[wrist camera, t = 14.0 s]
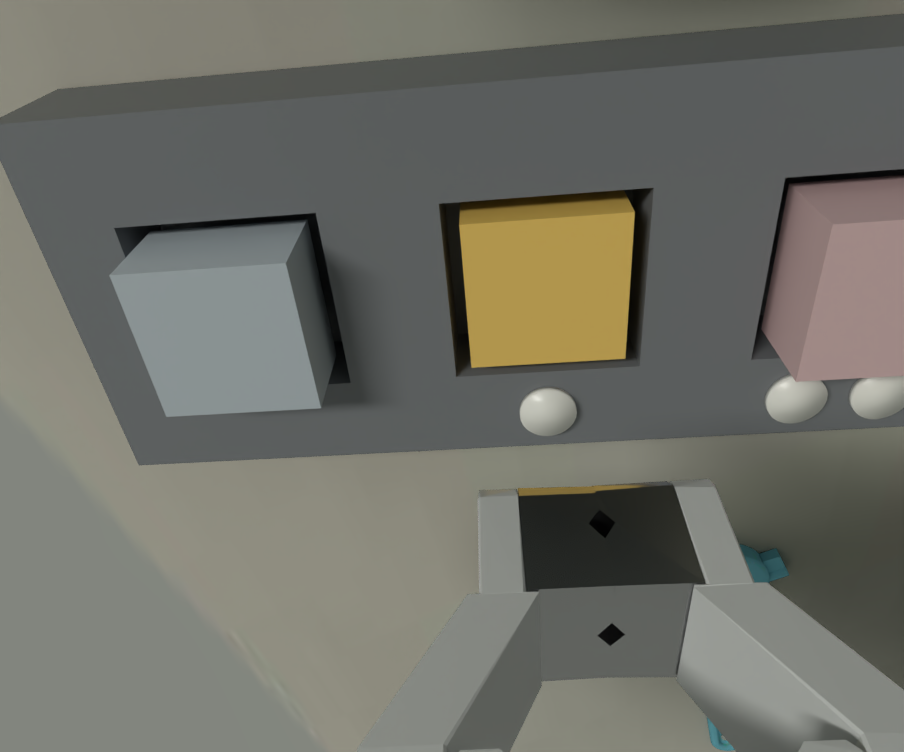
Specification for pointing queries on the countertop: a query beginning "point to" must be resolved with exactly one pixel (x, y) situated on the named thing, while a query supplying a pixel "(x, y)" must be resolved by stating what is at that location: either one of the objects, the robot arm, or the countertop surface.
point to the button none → (229, 317)
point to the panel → (438, 234)
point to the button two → (839, 280)
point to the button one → (547, 277)
